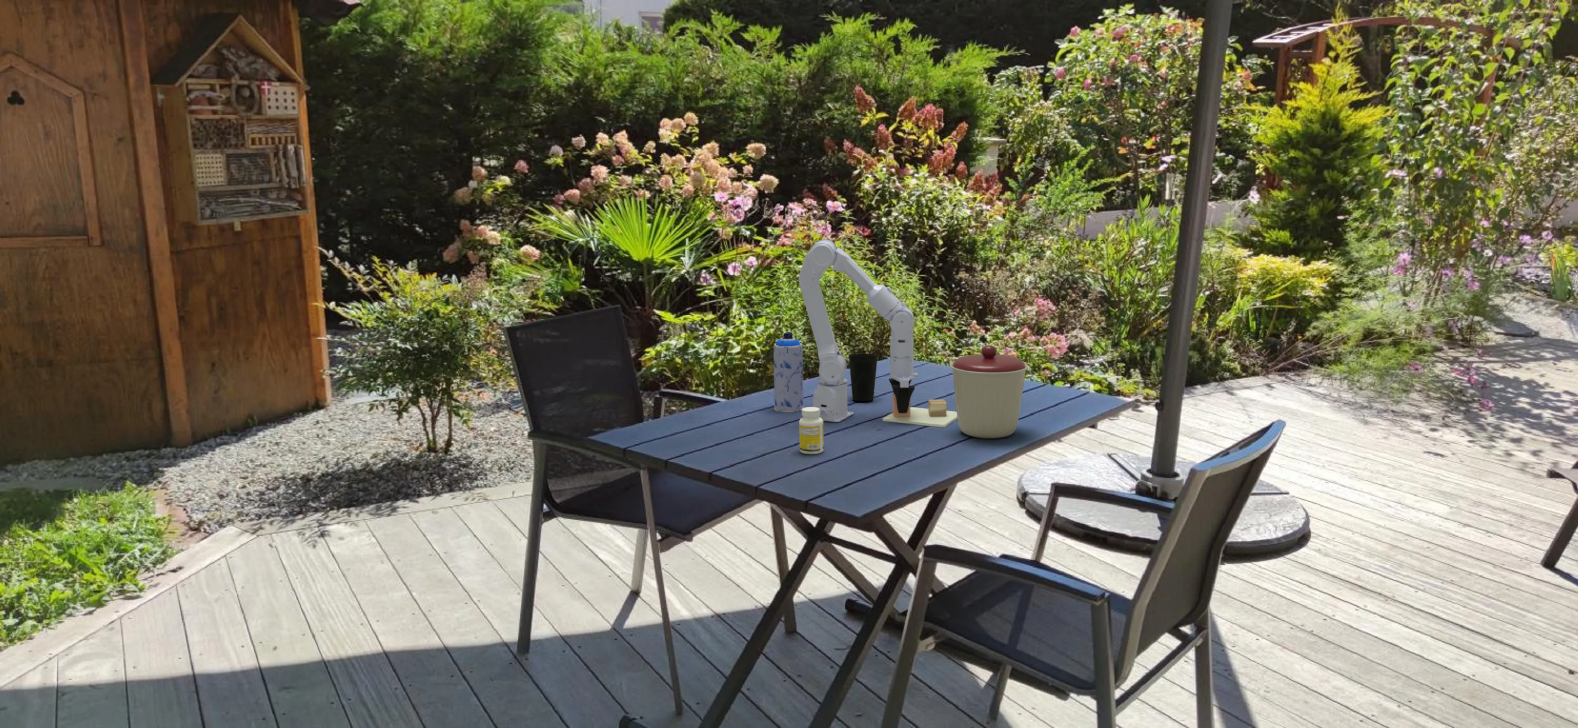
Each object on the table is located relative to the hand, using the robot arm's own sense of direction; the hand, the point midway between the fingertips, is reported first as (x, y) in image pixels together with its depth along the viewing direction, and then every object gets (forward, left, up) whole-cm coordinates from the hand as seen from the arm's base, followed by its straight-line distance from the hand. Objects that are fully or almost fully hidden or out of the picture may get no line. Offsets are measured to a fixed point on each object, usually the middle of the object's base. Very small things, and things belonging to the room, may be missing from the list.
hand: (901, 409), depth 283 cm
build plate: (+2, -5, -2) cm, 6 cm away
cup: (+13, +16, -2) cm, 21 cm away
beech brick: (+4, -8, -1) cm, 9 cm away
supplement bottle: (-37, +7, -2) cm, 38 cm away
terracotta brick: (0, 0, -1) cm, 1 cm away
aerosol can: (-3, +30, -2) cm, 30 cm away
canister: (-6, -24, -2) cm, 25 cm away
